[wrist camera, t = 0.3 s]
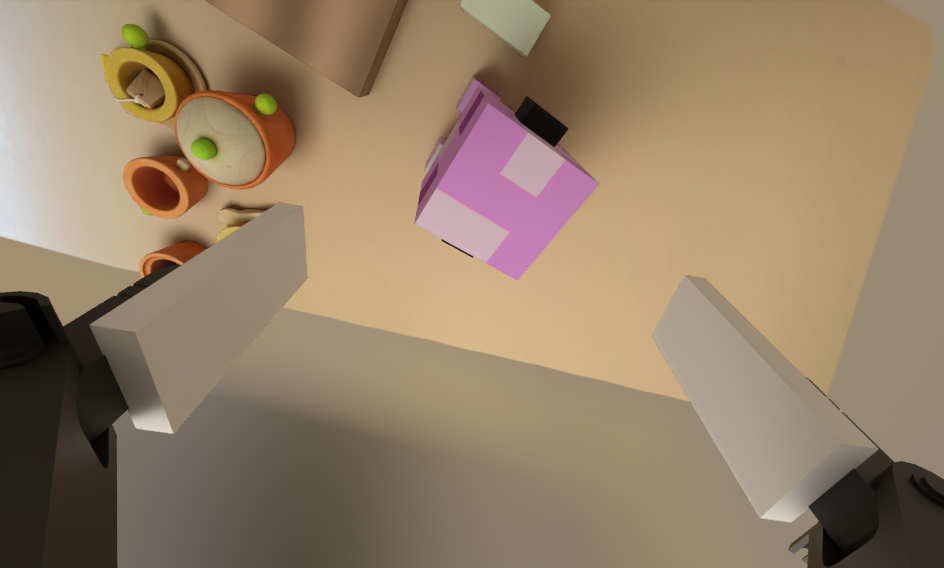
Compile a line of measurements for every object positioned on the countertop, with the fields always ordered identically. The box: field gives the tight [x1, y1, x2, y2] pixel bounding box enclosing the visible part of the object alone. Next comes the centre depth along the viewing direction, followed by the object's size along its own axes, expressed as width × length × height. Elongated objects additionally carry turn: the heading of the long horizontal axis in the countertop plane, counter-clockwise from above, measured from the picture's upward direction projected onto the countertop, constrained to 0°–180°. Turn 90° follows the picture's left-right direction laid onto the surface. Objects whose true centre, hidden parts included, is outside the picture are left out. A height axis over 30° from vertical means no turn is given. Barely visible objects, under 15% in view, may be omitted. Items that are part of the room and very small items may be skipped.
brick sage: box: [460, 0, 551, 57], centre depth 28 cm, size 6×3×3 cm, turn 59°
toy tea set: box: [101, 24, 295, 278], centre depth 34 cm, size 26×16×10 cm, turn 164°
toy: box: [415, 76, 599, 280], centre depth 28 cm, size 11×8×15 cm
